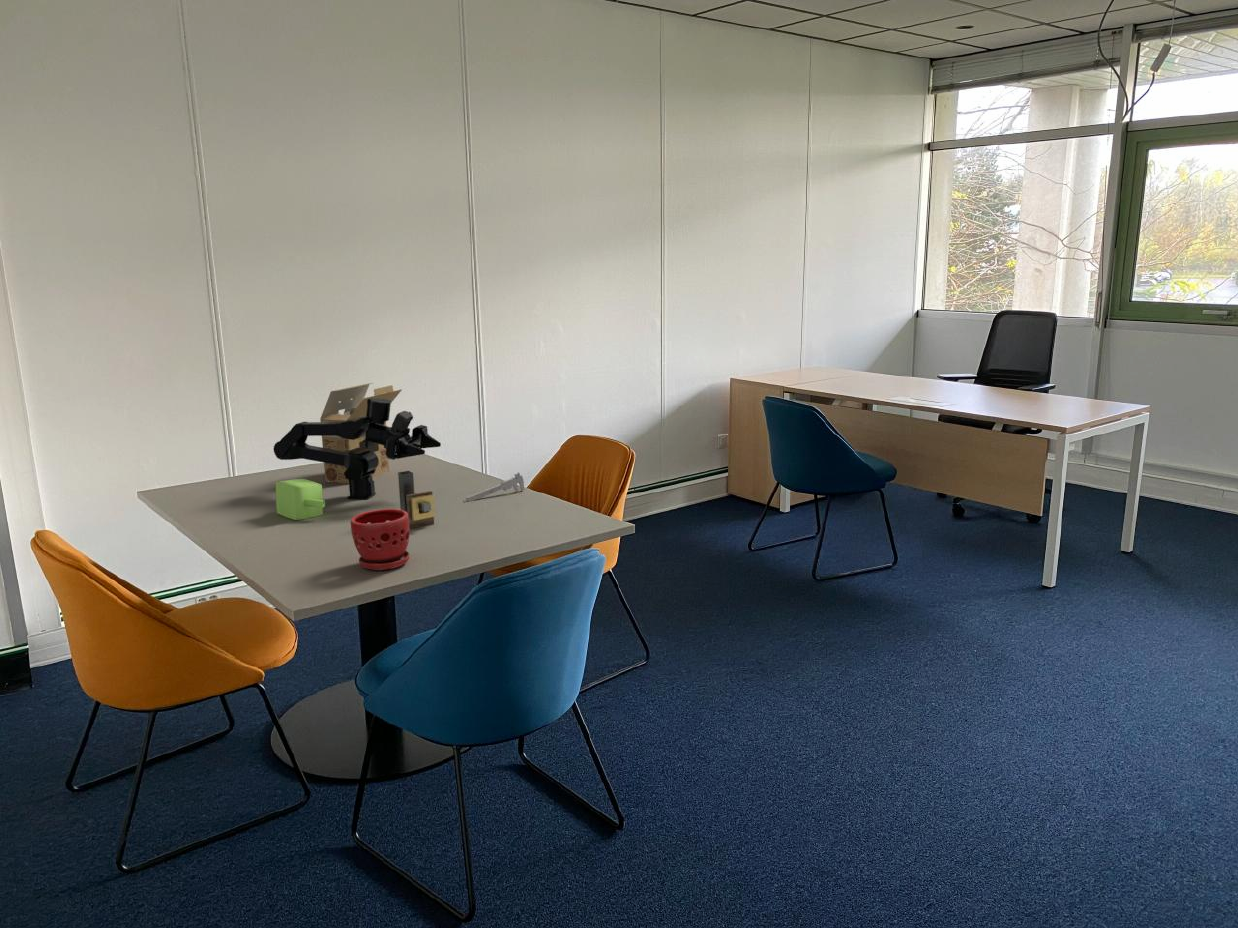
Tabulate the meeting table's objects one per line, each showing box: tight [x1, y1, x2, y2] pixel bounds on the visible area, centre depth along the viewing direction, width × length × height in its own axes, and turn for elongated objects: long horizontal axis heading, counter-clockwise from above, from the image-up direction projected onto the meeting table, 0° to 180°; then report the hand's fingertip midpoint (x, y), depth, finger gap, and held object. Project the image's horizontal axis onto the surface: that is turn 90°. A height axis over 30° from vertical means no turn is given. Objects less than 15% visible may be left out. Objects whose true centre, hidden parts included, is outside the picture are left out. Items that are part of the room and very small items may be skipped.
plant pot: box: [350, 508, 411, 571], centre depth 217 cm, size 13×13×12 cm
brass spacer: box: [411, 493, 436, 521], centre depth 247 cm, size 1×6×6 cm, turn 127°
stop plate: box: [406, 490, 435, 530], centre depth 249 cm, size 4×7×9 cm, turn 127°
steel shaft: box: [397, 470, 431, 512], centre depth 250 cm, size 14×3×13 cm, turn 37°
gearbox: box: [275, 478, 326, 521], centre depth 261 cm, size 18×10×10 cm, turn 48°
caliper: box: [462, 472, 525, 503], centre depth 279 cm, size 20×1×6 cm, turn 127°
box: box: [319, 382, 403, 485], centre depth 304 cm, size 21×20×30 cm
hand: (432, 448), depth 271 cm, fingers open, 9 cm apart
